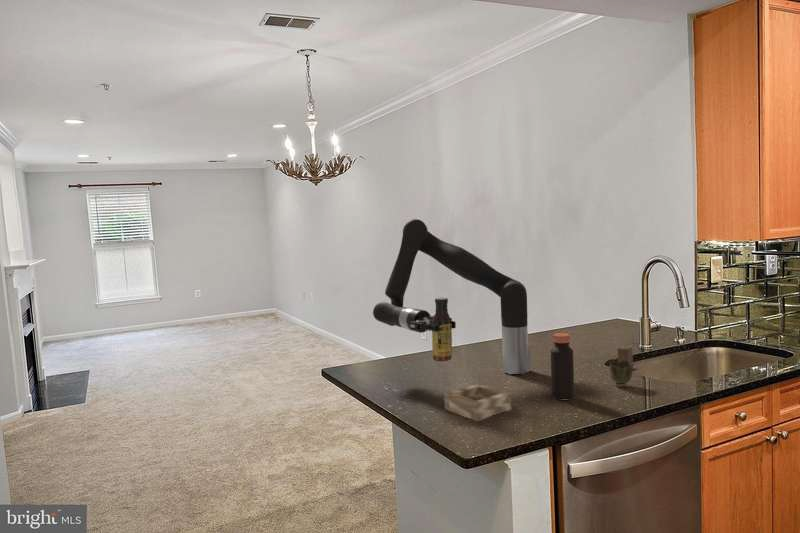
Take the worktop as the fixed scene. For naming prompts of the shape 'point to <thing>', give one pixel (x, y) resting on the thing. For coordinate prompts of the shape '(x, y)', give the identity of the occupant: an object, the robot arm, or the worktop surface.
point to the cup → (621, 372)
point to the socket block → (477, 401)
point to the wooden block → (625, 354)
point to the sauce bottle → (442, 332)
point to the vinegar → (562, 367)
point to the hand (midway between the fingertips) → (446, 326)
